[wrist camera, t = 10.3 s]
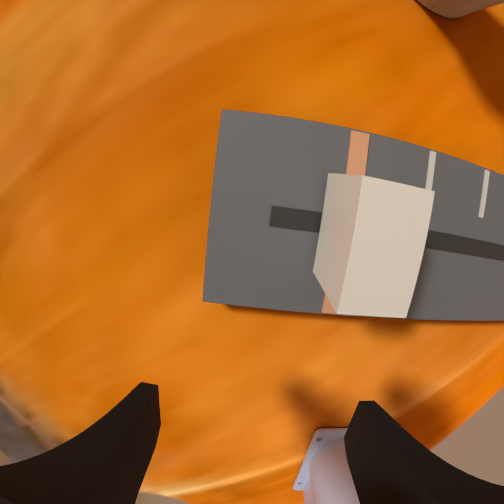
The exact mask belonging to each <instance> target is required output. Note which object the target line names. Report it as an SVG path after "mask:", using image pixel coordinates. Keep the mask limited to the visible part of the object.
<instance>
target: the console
mask: <svg viewBox="0 0 504 504" xmlns="http://www.w3.org/2000/svg"><path fill="white" fill-rule="evenodd" d="M328 173H337V174H352V175H364V176H369V177H374V178H378V179H383V180H388V181H393V182H397V183H402V184H406V185H410V186H414V187H419V188H423V189H427V190H431V191H435V193H434V200H433V206H432V212H431V218H430V223H429V228H428V233H427V238H426V243H425V248H424V252H423V257H422V261H421V265H420V269H419V273H418V277H417V281H416V285H415V289H414V292H413V296H412V299H411V303H410V306H409V310H408V313H407V316H406V318H397V319H421V320H464V321H504V175H501V174H499V173H496V172H494V171H491V170H489V169H486V168H484V167H481V166H478V165H476V164H473V163H470V162H468V161H465V160H462V159H459V158H456V157H453V156H450V155H447V154H444V153H441V152H438V151H435V150H432V149H428V148H425V147H422V146H418V145H415V144H411V143H408V142H404V141H401V140H397V139H393V138H389V137H385V136H381V135H377V134H373V133H369V132H365V131H360V130H356V129H351V128H346V127H342V126H337V125H331V124H326V123H321V122H315V121H309V120H303V119H297V118H291V117H284V116H277V115H269V114H261V113H252V112H243V111H233V110H222V113H221V120H220V128H219V136H218V144H217V152H216V161H215V170H214V179H213V188H212V198H211V208H210V218H209V229H208V240H207V251H206V264H205V276H204V290H203V302H211V303H219V304H228V305H236V306H245V307H254V308H264V309H274V310H284V311H295V312H306V313H318V314H331V315H344V314H336V312H335V310H334V308H333V306H332V305H331V303H330V301H329V299H328V297H327V296H326V294H325V292H324V290H323V289H322V287H321V285H320V283H319V281H318V280H317V278H316V276H315V274H314V273H313V267H314V262H315V256H316V250H317V244H318V238H319V232H320V226H321V220H322V213H323V207H324V200H325V193H326V186H327V178H328ZM345 316H359V315H345ZM360 317H375V316H360ZM377 318H394V317H377Z"/></svg>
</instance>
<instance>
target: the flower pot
mask: <svg viewBox="0 0 504 504" xmlns="http://www.w3.org/2000/svg"><path fill="white" fill-rule="evenodd" d="M417 1H418V2H419V3H421V4H422V5H423V6H425V7H426V8H428V9H429V10H431V11H433V12H434V13H436V14H439V15H441V16H444V17H447V18H459V17H463V16H465V15H468V14H470V13H473V12H476V11H479V10H482V9H485V8H488V7H491V6H494V5H498V4H501V3H504V0H417Z"/></svg>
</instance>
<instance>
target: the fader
mask: <svg viewBox="0 0 504 504" xmlns="http://www.w3.org/2000/svg"><path fill="white" fill-rule="evenodd" d="M434 193H435V191H431V190H427V189H423V188H419V187H414V186H410V185H406V184H402V183H397V182H393V181H388V180H383V179H378V178H374V177H369V176H364V175H352V174H337V173H328V178H327V186H326V193H325V200H324V207H323V213H322V220H321V226H320V232H319V238H318V244H317V250H316V256H315V262H314V267H313V273H314V274H315V276H316V278H317V280H318V281H319V283H320V285H321V287H322V289H323V290H324V292H325V294H326V296H327V297H328V299H329V301H330V303H331V305H332V306H333V308H334V310H335V312H336V314H344V315H359V316H375V317H394V318H406V316H407V313H408V310H409V306H410V303H411V299H412V296H413V292H414V289H415V285H416V281H417V277H418V273H419V269H420V265H421V261H422V257H423V252H424V248H425V243H426V238H427V233H428V228H429V223H430V218H431V212H432V206H433V200H434Z"/></svg>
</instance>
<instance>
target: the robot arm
mask: <svg viewBox="0 0 504 504" xmlns="http://www.w3.org/2000/svg"><path fill="white" fill-rule="evenodd" d="M160 426H161V420H160V407H159V392H158V385H154V384H149V383H144V382H141V383H140V384H138V385H137V386H136V387H135V388H134V389H133V390H132V391H131V392H130V393H129V394H128V395H127V396H126V397H125V398H124V399H123V400H122V401H120V402H119V403H118V404H117V405H116V406H115V407H114V408H113V409H111V410H110V411H109V412H108V413H107V414H106V415H104V416H103V417H102V418H101V419H99V420H98V421H97V422H95V423H94V424H93V425H91V426H90V427H89V428H87V429H86V430H84V431H83V432H81V433H80V434H78V435H77V436H75V437H74V438H72V439H70V440H69V441H67V442H65V443H63V444H61V445H59V446H57V447H55V448H53V449H51V450H49V451H47V452H45V453H43V454H40V455H37V456H35V457H32V458H29V459H26V460H23V461H20V462H17V463H13V464H9V465H5V466H0V504H135V501H136V498H137V495H138V492H139V489H140V487H141V484H142V481H143V479H144V476H145V473H146V471H147V468H148V465H149V463H150V460H151V458H152V455H153V452H154V449H155V447H156V443H157V439H158V434H159V430H160ZM319 437H320V438H319ZM293 489H294V490H297V491H299V490H303V494H304V501H305V504H504V486H500V485H496V484H493V483H490V482H487V481H484V480H481V479H479V478H476V477H474V476H472V475H469V474H467V473H465V472H463V471H461V470H459V469H457V468H455V467H454V466H452V465H450V464H449V463H447V462H446V461H444V460H442V459H441V458H439V457H438V456H436V455H435V454H433V453H432V452H431V451H429V450H428V449H427V448H426V447H424V446H423V445H422V444H421V443H419V442H418V441H417V440H416V439H415V438H413V437H412V436H411V435H410V434H409V433H408V432H407V431H406V430H404V429H403V428H402V426H401V425H400V424H398V423H397V422H396V421H395V420H394V419H393V418H392V417H391V416H390V415H389V414H388V413H387V412H386V411H385V410H384V409H382V408H381V407H380V406H379V405H378V404H377V403H376V402H375V401H359V403H358V405H357V408H356V410H355V413H354V415H353V417H352V420H351V422H350V424H349V427H348V428H325V429H318V430H316V431H315V432H314V435H313V438H312V440H311V443H310V445H309V448H308V451H307V453H306V456H305V458H304V461H303V463H302V466H301V468H300V470H299V473H298V475H297V477H296V480H295V482H294V484H293Z"/></svg>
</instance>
